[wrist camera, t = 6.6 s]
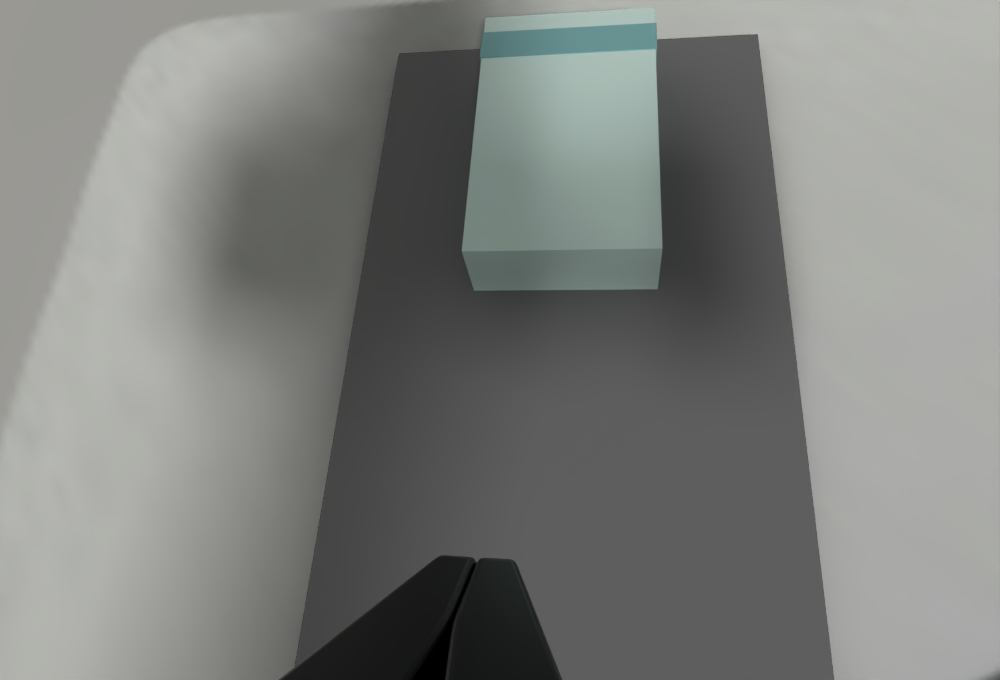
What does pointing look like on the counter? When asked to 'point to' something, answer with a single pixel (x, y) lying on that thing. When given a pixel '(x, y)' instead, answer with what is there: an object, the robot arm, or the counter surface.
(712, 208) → the mat
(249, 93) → the counter surface
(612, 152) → the carton
